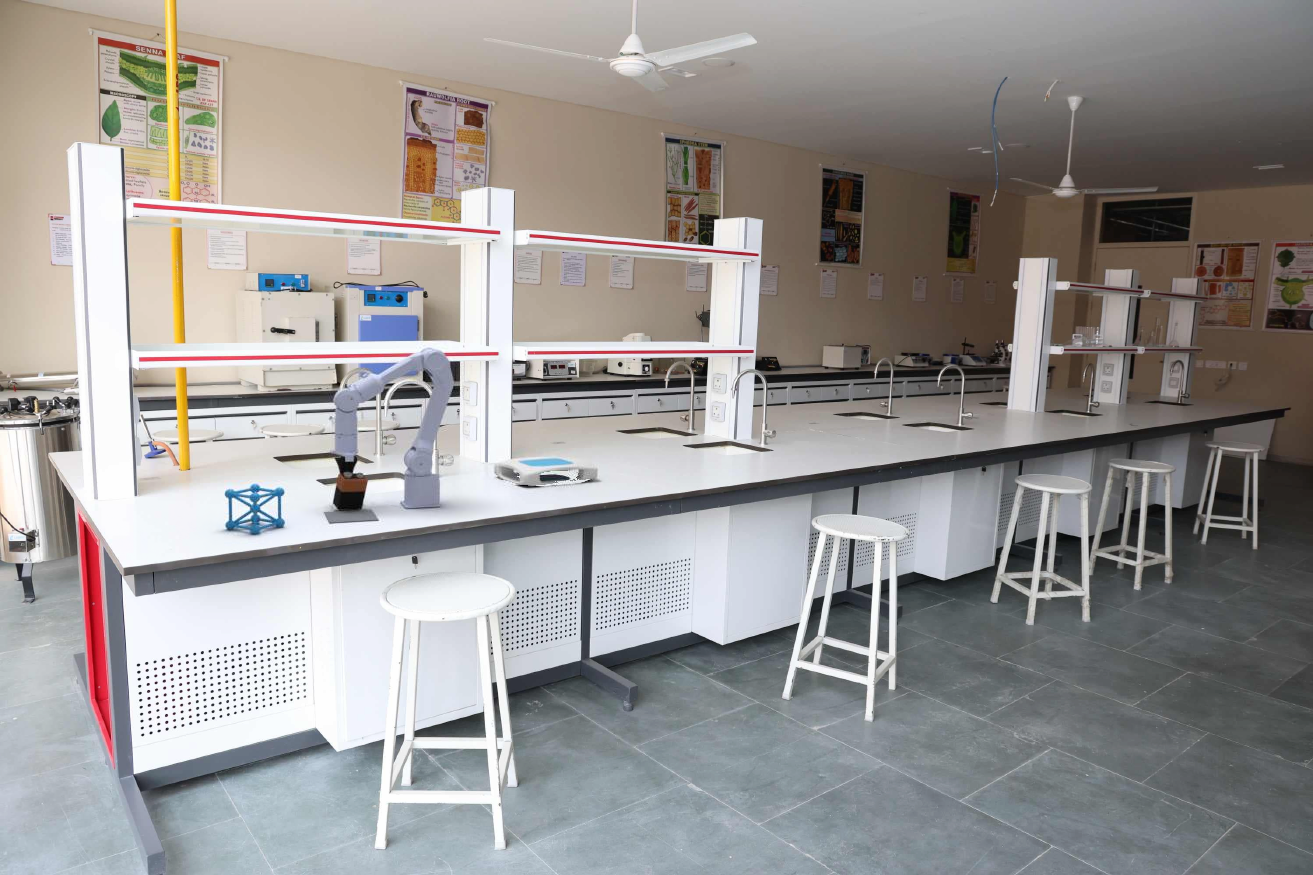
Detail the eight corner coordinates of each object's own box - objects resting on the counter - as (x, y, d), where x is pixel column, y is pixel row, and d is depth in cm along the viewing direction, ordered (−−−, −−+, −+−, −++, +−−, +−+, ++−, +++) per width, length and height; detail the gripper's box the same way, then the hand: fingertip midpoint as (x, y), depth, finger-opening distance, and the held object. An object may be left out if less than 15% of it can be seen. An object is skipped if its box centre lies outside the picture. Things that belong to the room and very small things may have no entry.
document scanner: (598, 482, 294) (598, 464, 293) (524, 489, 277) (525, 470, 276) (564, 472, 310) (564, 454, 309) (493, 477, 293) (493, 459, 292)
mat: (371, 510, 237) (371, 509, 237) (378, 520, 227) (378, 519, 227) (324, 512, 232) (324, 511, 232) (329, 523, 221) (329, 522, 221)
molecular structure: (223, 530, 210) (222, 489, 209) (255, 521, 220) (255, 482, 218) (255, 535, 207) (254, 494, 206) (287, 526, 216) (286, 487, 215)
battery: (331, 503, 236) (338, 470, 233) (356, 502, 241) (363, 469, 238) (337, 511, 233) (344, 477, 230) (362, 509, 238) (369, 476, 235)
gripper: (327, 430, 240) (327, 479, 242) (333, 438, 227) (333, 489, 229) (354, 430, 243) (354, 478, 245) (361, 437, 230) (361, 488, 232)
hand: (346, 483), depth 237 cm, fingers closed
